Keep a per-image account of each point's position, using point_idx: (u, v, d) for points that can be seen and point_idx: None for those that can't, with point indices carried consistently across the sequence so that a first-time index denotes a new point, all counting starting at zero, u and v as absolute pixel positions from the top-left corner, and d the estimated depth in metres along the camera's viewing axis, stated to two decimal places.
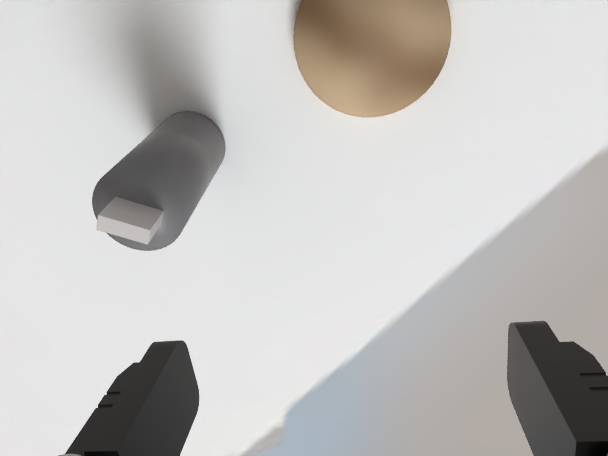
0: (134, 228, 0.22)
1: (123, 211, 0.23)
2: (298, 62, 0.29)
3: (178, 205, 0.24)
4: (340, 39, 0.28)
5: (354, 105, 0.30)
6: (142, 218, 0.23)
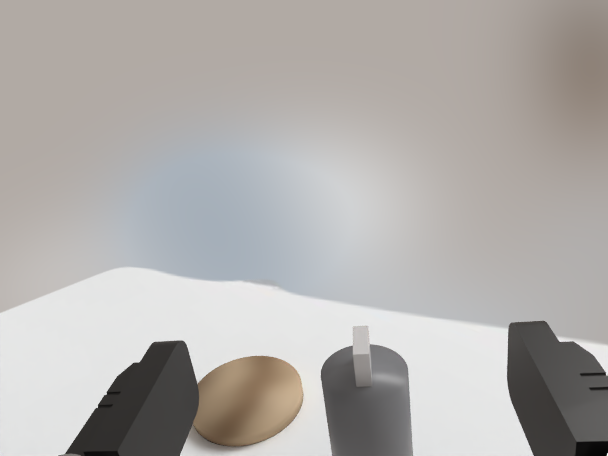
0: (356, 334, 0.26)
1: None
2: (268, 425, 0.35)
3: (347, 350, 0.28)
4: (247, 407, 0.37)
5: (294, 386, 0.39)
6: None
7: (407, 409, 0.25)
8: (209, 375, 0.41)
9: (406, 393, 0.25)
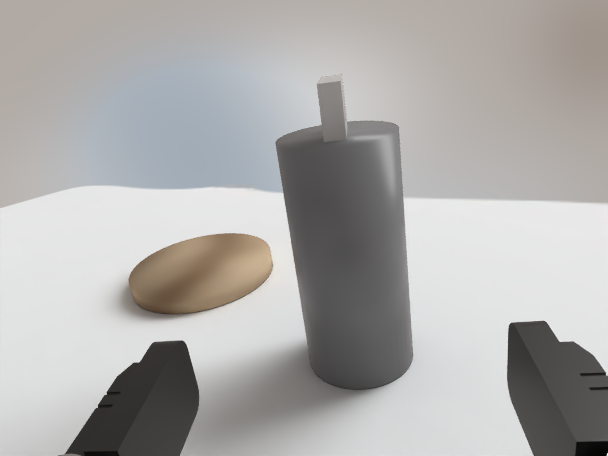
0: (324, 78, 0.18)
1: None
2: (224, 287, 0.27)
3: (315, 127, 0.20)
4: (200, 273, 0.29)
5: (260, 254, 0.31)
6: None
7: (398, 182, 0.18)
8: (159, 252, 0.34)
9: (396, 154, 0.17)
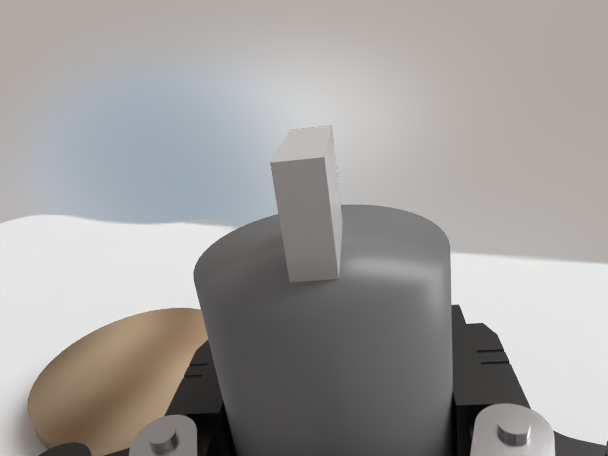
0: (295, 136, 0.09)
1: None
2: None
3: None
4: (131, 387, 0.20)
5: None
6: None
7: (447, 357, 0.08)
8: (86, 338, 0.24)
9: (446, 305, 0.08)
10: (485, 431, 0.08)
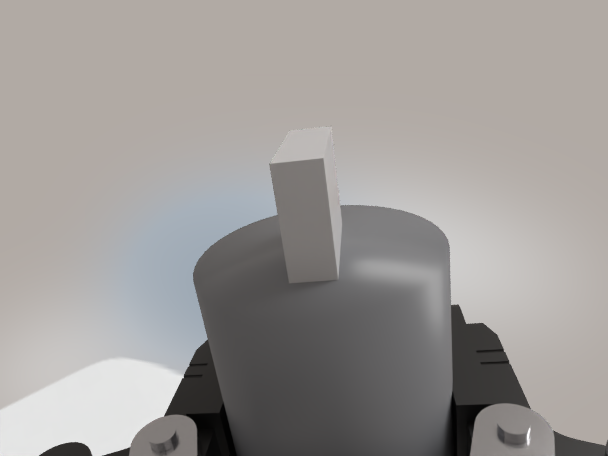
0: (294, 137, 0.09)
1: None
2: None
3: None
4: None
5: None
6: None
7: (447, 358, 0.08)
8: None
9: (446, 306, 0.08)
10: (485, 431, 0.08)
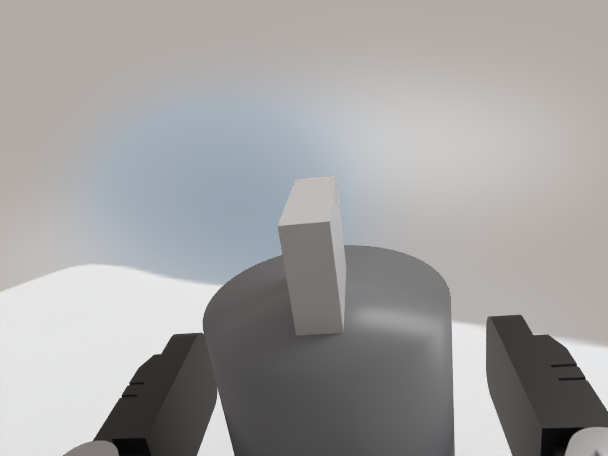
0: (300, 190, 0.09)
1: None
2: None
3: None
4: None
5: None
6: None
7: (449, 404, 0.09)
8: None
9: (447, 356, 0.08)
10: None
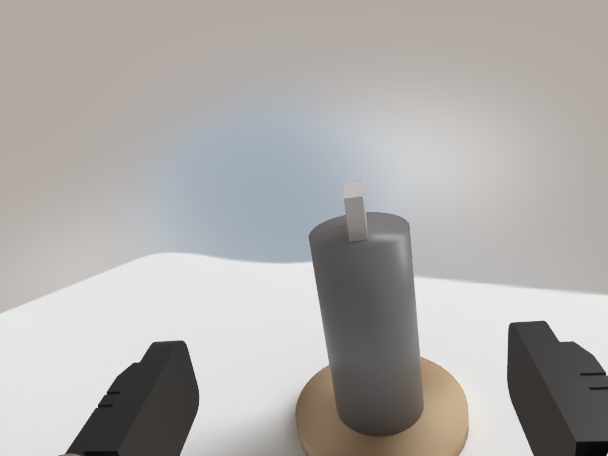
0: (348, 186, 0.22)
1: None
2: None
3: (340, 218, 0.24)
4: None
5: (452, 393, 0.26)
6: None
7: (409, 271, 0.22)
8: (314, 380, 0.28)
9: (408, 249, 0.21)
10: None
